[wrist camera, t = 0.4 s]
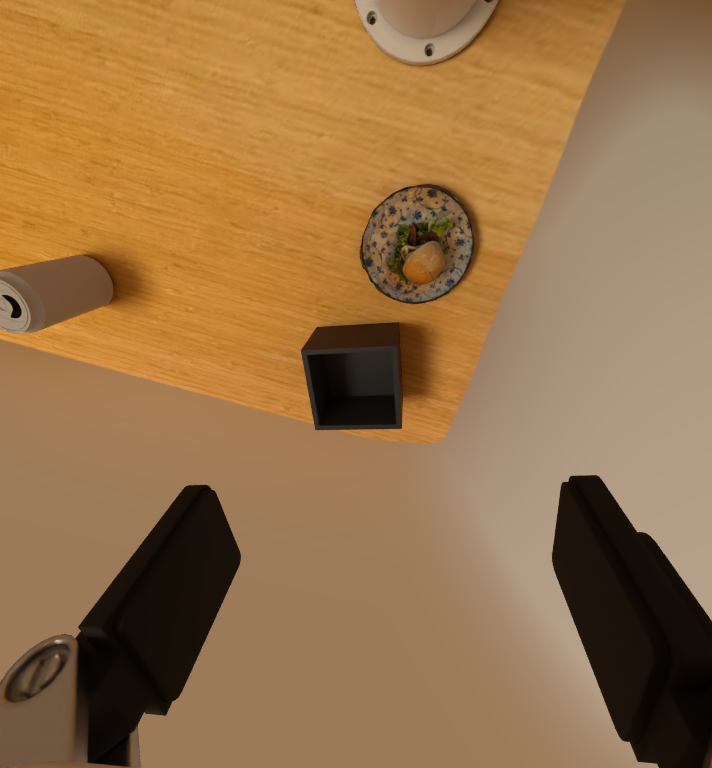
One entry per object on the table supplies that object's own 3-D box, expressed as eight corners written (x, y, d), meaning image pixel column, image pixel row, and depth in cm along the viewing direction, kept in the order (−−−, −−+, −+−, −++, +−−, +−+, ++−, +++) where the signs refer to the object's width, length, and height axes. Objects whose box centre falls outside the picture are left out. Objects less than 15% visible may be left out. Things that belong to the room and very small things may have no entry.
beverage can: (123, 307, 48) (42, 340, 38) (77, 302, 49) (-15, 334, 38) (110, 256, 45) (19, 276, 35) (62, 252, 46) (-43, 270, 35)
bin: (316, 327, 46) (300, 350, 39) (398, 322, 44) (397, 345, 38) (327, 398, 51) (315, 430, 44) (402, 396, 49) (401, 428, 42)
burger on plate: (459, 166, 36) (470, 160, 30) (483, 282, 41) (497, 299, 34) (346, 211, 39) (333, 215, 33) (380, 313, 44) (375, 335, 38)
